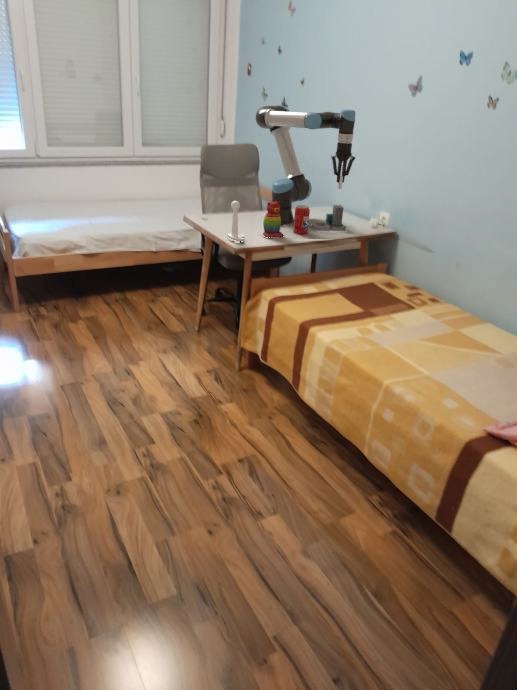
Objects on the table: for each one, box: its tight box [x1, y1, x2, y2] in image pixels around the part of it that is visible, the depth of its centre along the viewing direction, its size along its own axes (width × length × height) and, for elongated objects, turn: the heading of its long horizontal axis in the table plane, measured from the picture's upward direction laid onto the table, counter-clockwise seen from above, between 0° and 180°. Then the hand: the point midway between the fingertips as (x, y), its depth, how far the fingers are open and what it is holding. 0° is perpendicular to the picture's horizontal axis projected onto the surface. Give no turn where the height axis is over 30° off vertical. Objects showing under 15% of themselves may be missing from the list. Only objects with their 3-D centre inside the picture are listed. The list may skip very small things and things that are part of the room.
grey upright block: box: [331, 204, 344, 226], centre depth 290 cm, size 4×6×12 cm, turn 9°
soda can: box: [292, 204, 311, 236], centre depth 278 cm, size 8×8×15 cm
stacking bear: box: [262, 201, 285, 239], centre depth 273 cm, size 11×10×18 cm
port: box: [325, 213, 347, 231], centre depth 293 cm, size 8×13×6 cm, turn 9°
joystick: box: [227, 200, 245, 242], centre depth 263 cm, size 11×8×20 cm
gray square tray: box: [309, 221, 348, 233], centre depth 292 cm, size 17×17×3 cm
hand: (339, 188), depth 283 cm, fingers closed
